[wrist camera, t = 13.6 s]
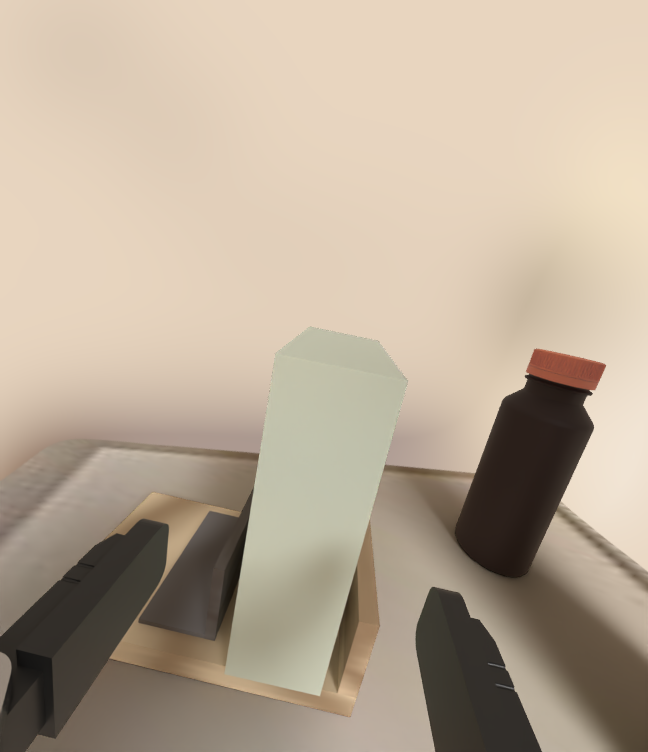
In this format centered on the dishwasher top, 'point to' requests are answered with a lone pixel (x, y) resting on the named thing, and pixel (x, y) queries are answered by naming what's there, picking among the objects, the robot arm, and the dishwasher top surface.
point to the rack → (232, 606)
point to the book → (311, 504)
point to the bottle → (528, 463)
